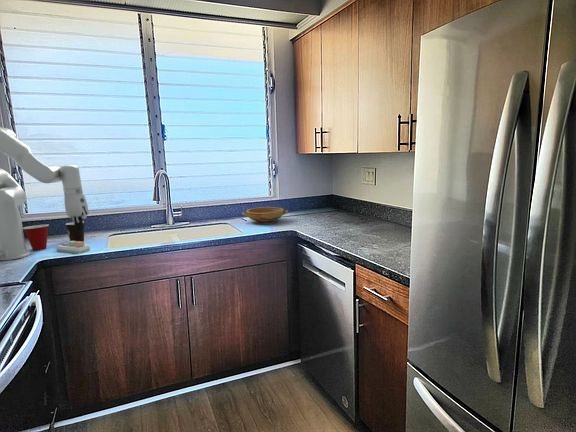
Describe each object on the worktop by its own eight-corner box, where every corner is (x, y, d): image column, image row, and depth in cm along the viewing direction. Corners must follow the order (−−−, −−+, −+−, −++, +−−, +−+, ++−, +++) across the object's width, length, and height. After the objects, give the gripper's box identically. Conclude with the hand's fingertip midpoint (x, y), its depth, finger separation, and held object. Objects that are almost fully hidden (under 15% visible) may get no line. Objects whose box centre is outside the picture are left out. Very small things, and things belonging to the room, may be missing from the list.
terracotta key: (80, 247, 174) (79, 242, 174) (75, 246, 175) (74, 242, 175) (84, 245, 176) (83, 241, 176) (79, 245, 177) (79, 241, 177)
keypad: (79, 253, 173) (78, 248, 172) (57, 250, 178) (56, 245, 178) (90, 250, 178) (89, 245, 177) (68, 247, 184) (67, 243, 183)
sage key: (73, 246, 176) (72, 242, 176) (68, 245, 177) (68, 241, 177) (77, 245, 178) (76, 241, 178) (72, 244, 179) (72, 240, 179)
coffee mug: (69, 240, 199) (67, 222, 197) (87, 238, 202) (85, 221, 200) (65, 245, 188) (62, 226, 187) (84, 243, 191) (81, 224, 190)
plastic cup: (47, 245, 190) (44, 222, 188) (55, 248, 184) (52, 224, 181) (23, 249, 182) (19, 226, 180) (30, 253, 175) (26, 228, 173)
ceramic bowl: (241, 227, 222) (241, 214, 221) (242, 219, 246) (242, 207, 244) (290, 224, 225) (290, 212, 224) (286, 217, 249) (286, 206, 247)
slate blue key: (66, 248, 178) (66, 244, 178) (62, 247, 179) (61, 243, 179) (70, 246, 180) (70, 243, 180) (66, 246, 181) (65, 242, 181)
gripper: (91, 190, 172) (97, 229, 175) (69, 191, 177) (75, 228, 181) (77, 193, 165) (84, 232, 168) (54, 193, 171) (61, 231, 174)
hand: (79, 230), depth 175 cm, fingers closed
